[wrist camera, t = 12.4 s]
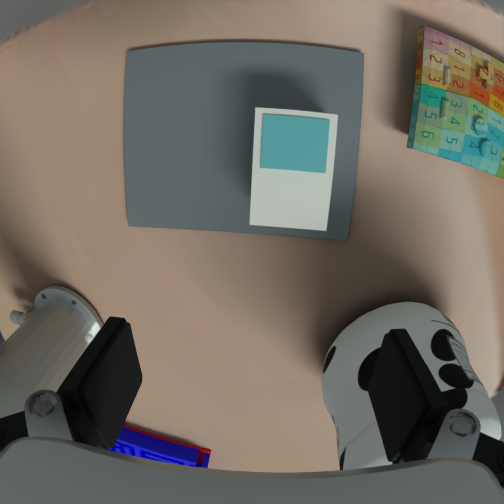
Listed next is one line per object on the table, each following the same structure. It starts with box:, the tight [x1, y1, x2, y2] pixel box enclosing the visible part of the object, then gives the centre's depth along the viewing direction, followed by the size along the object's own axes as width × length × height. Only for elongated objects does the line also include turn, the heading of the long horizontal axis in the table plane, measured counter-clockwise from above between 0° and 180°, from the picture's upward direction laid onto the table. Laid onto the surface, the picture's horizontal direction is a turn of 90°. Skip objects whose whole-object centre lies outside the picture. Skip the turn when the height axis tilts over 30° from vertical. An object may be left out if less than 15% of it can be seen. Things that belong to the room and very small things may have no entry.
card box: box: [250, 107, 338, 231], centre depth 25 cm, size 9×6×5 cm, turn 177°
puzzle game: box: [407, 26, 504, 179], centre depth 22 cm, size 12×5×20 cm
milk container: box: [322, 302, 501, 470], centre depth 27 cm, size 17×17×18 cm
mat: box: [124, 42, 364, 240], centre depth 27 cm, size 22×18×1 cm
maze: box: [109, 425, 211, 468], centre depth 51 cm, size 30×30×4 cm
